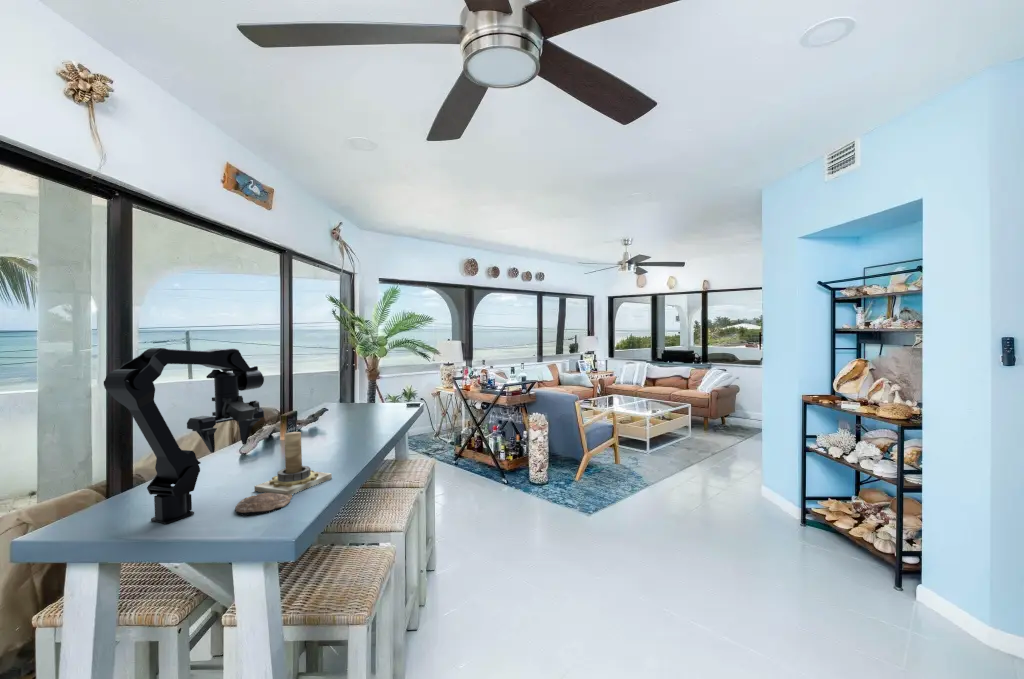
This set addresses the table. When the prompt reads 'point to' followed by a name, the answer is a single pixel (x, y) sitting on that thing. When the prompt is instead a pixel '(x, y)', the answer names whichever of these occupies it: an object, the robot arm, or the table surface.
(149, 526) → the table surface
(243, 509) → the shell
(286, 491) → the gear board
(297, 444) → the oak axle
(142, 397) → the robot arm
